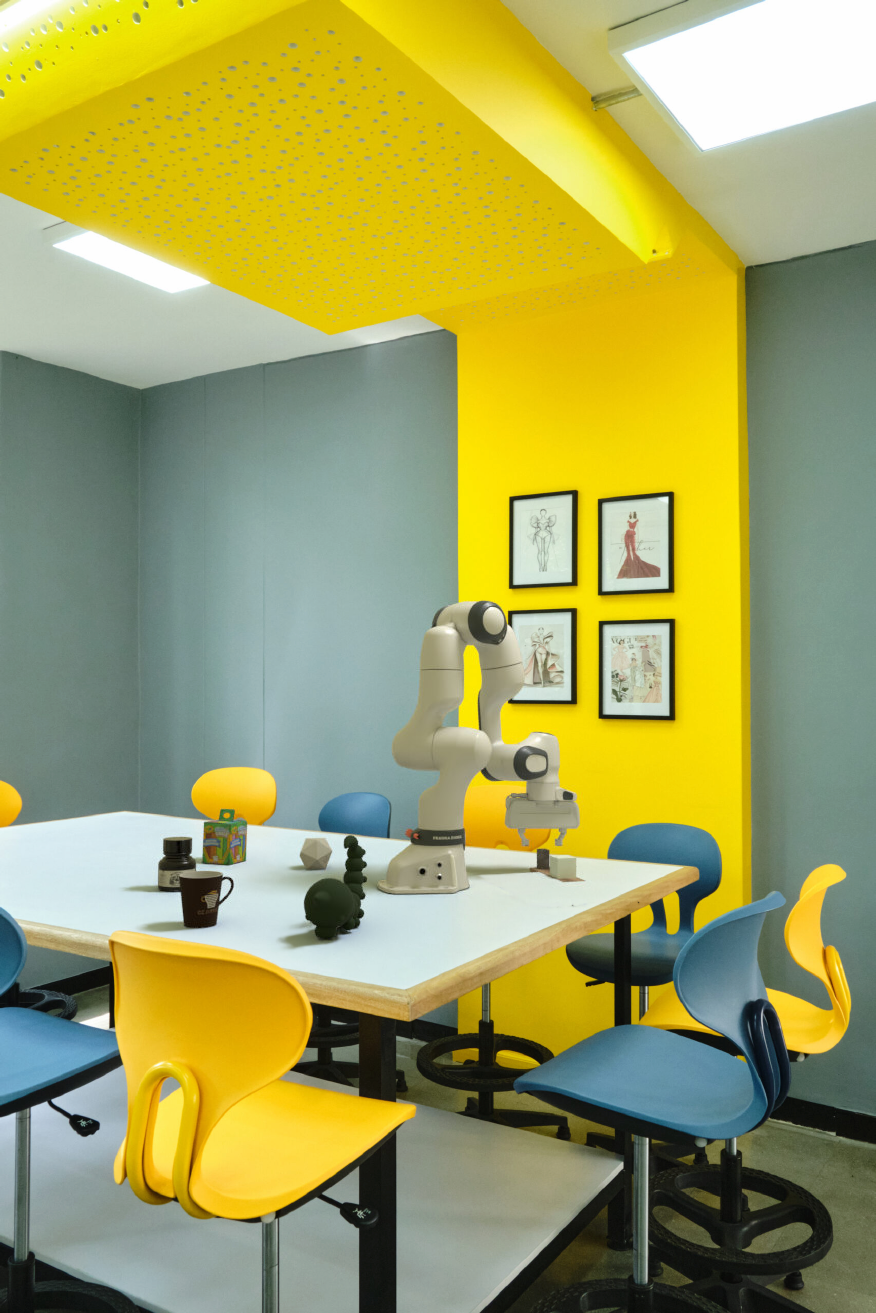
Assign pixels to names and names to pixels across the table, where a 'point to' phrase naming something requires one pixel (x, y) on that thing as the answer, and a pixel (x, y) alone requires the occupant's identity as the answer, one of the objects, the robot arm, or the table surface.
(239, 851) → the chalk box
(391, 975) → the table surface
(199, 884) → the coffee mug
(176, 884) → the ink bottle
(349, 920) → the toy figurine
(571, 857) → the cube
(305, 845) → the die
